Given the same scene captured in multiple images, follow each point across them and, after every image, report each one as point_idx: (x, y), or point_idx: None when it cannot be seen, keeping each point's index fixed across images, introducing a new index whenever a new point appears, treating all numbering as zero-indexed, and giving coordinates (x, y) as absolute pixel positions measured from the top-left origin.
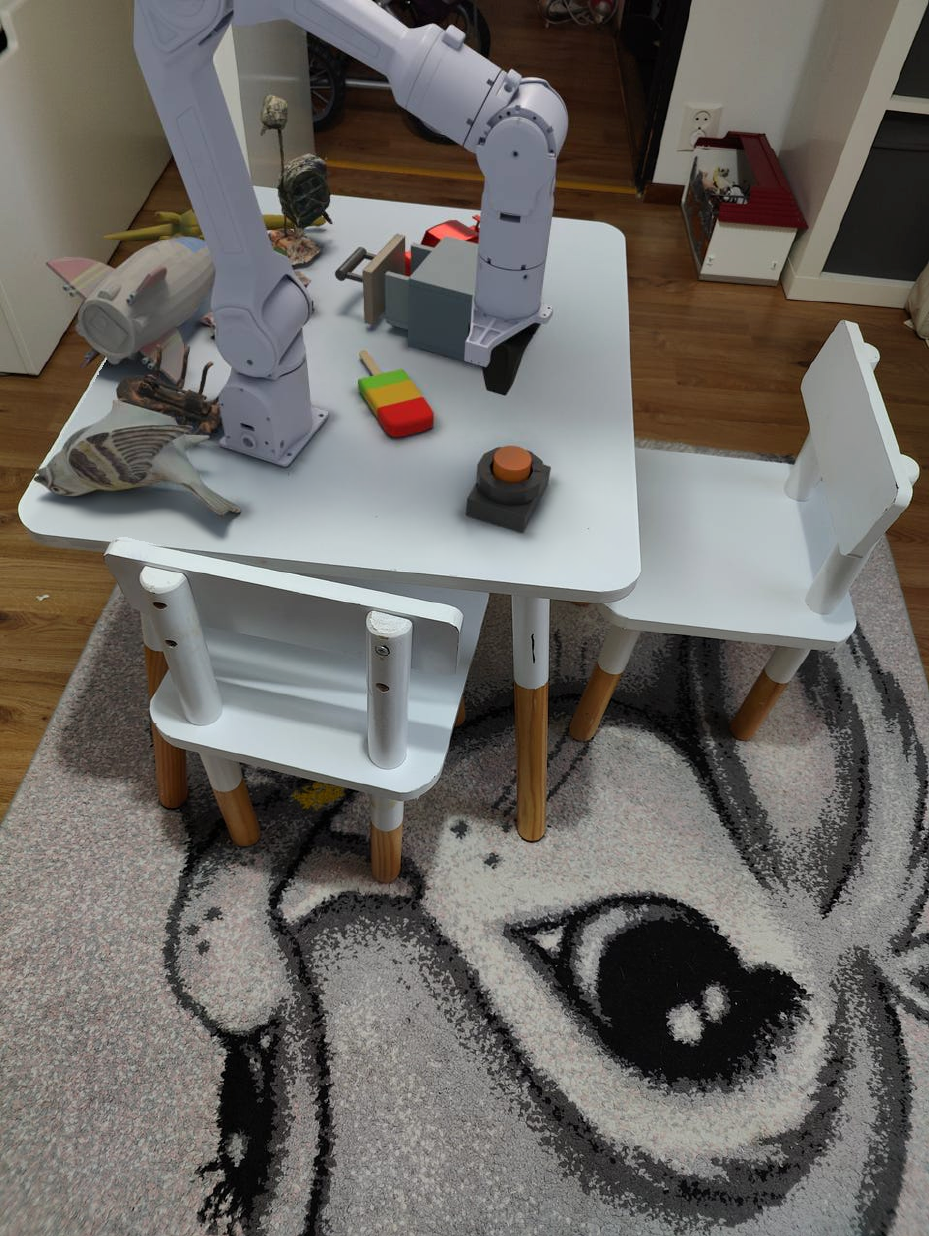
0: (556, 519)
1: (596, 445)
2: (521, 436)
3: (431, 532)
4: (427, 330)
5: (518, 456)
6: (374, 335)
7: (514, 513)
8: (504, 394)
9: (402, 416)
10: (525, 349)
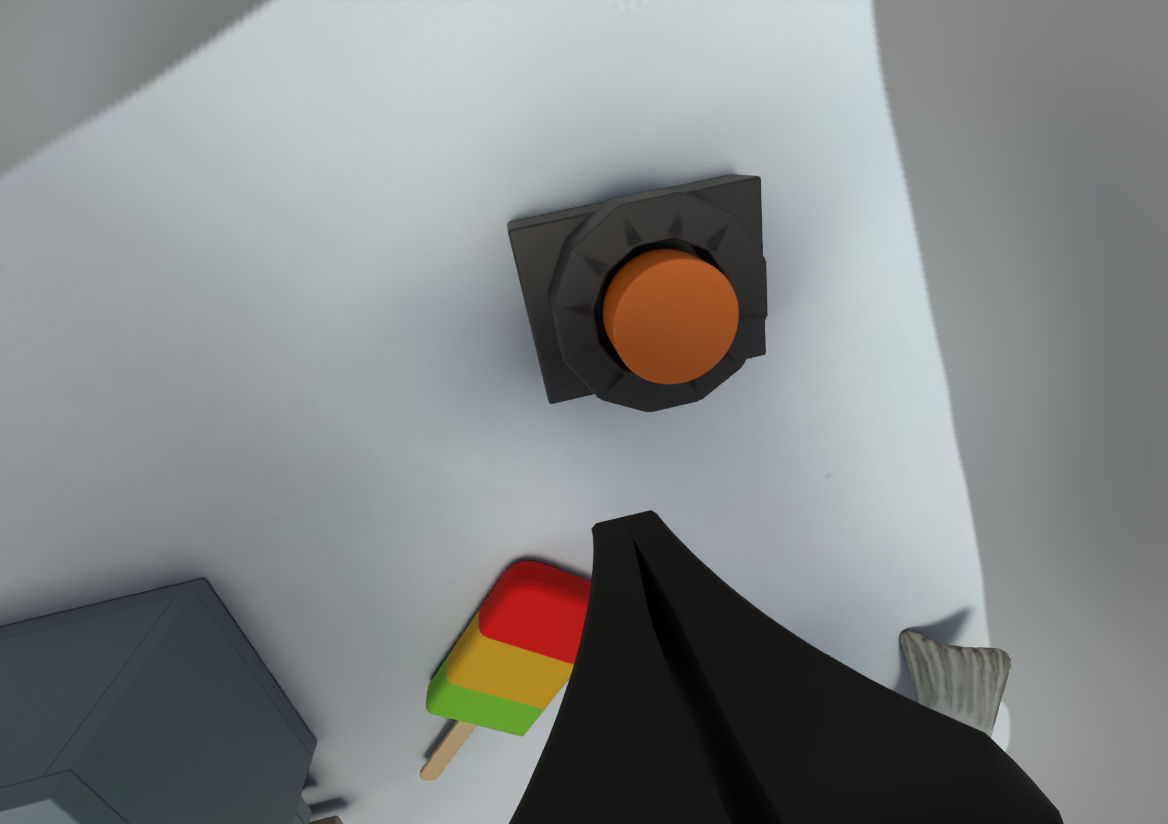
0: (631, 113)
1: (232, 179)
2: (387, 391)
3: (825, 365)
4: (277, 769)
5: (660, 313)
6: (347, 789)
7: (761, 212)
8: (659, 517)
9: (574, 622)
10: (576, 677)
